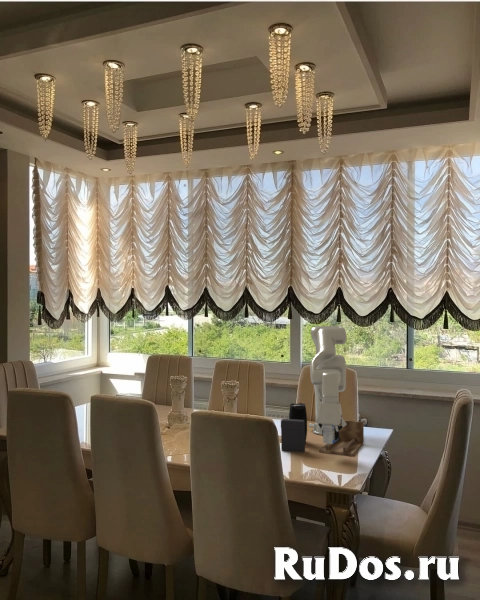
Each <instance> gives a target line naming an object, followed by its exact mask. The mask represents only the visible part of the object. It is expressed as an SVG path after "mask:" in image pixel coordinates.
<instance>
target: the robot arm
mask: <svg viewBox="0 0 480 600" xmlns="http://www.w3.org/2000/svg"><path fill="white" fill-rule="evenodd" d="M310 335H311V340H312V341H313V344H314V346H315V356H314V357H313V358H312V360H311V361H310V365H309V367H310V368H309V373H310V375H309V376H310V382H311V384H312V385H313V391H314V398H315V399H314V403H315V410H314V411H315V414H314V415H315V421H314V423H310V422H309V423H308V424H307V427H309V428H312V433H313V434H316V435H321V436H322V437H323V424H330V425H335V429H336V431H335V440H337V439H338V438H339V430H340V429H341V428H343V427H344V426H346V425H347V424H346V422H345V421H344V420H345V419H344V418H343V410H342V405H341V402H340V401H339V399H340V398H339V393H341V392H344V391H345V390H346V388H347V364H346V363H347V362H346V358H345V357H344V355H341V354H337V350H336V345H345V344H346V342H347V337H348V336H347V335H348V334H347V331H346V329H345V327H343V326H341V325H317V326H313V327H311V329H310ZM340 423H342V425H341V426H339V425H340Z"/></svg>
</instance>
